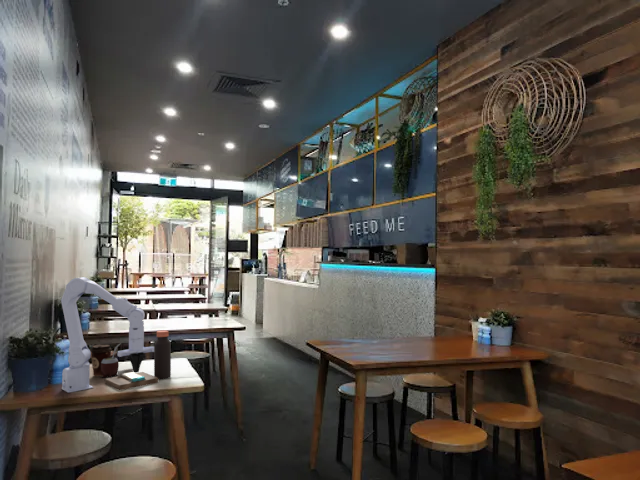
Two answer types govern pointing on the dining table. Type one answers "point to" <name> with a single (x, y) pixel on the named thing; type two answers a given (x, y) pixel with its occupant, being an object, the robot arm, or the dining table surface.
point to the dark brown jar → (99, 357)
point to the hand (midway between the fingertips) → (136, 371)
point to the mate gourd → (110, 366)
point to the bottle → (162, 355)
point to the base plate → (126, 383)
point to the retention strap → (133, 376)
